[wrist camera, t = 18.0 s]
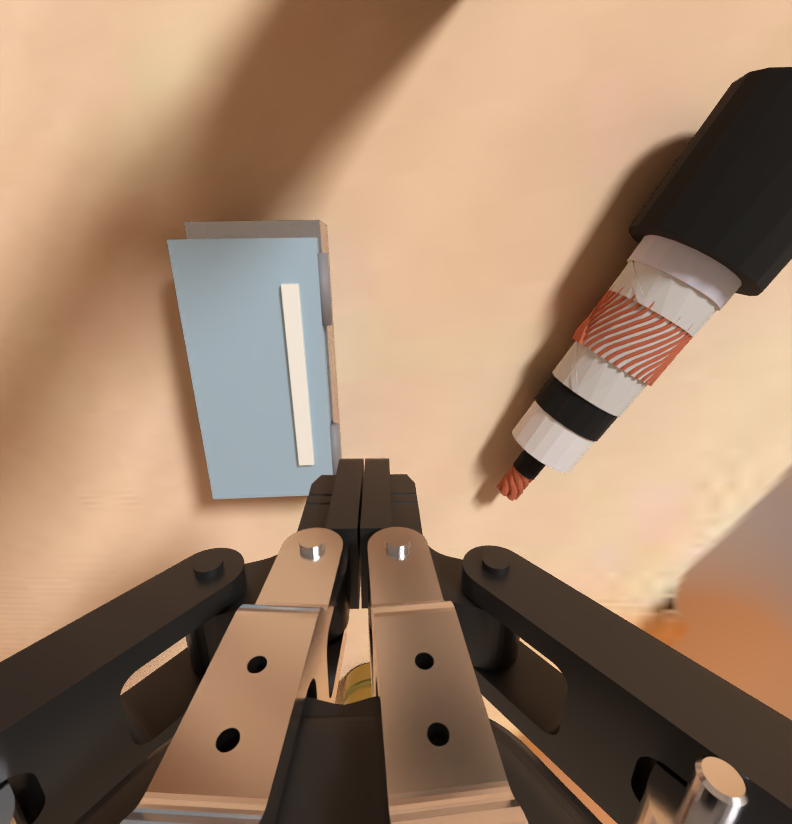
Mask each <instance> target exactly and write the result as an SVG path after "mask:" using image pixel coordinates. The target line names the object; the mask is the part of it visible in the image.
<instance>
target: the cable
mask: <svg viewBox="0 0 792 824" xmlns="http://www.w3.org/2000/svg"><path fill="white" fill-rule="evenodd" d="M629 232H630V234H631V235H632V237H633V238H634V239H635V240H636V241H637V242H638V243H639V245H638V246H637V247H636V249H635V250H634V252H633V253H632V254H631V256H630V257H629V258H628V260H627V263H628V264H627V266H626V267H625V268H624V270H623V271H622V272H621V274H620V275H619V276H618V278H617V279H616V280H615V282H614V283H613V284H612V286H611V287H610V288H609V290H608V291H607V292H606V293H605V294H604V295H603V296H602V298H601V299H600V300H599V302H598V303H597V305H596V306H595V308H594V309H593V311H592V312H591V314H590V315H589V316H588V317H587V318H586V319H585V320H584V321H583V322H582V323H581V324H580V326H579V327H578V328H577V329H576V331H575V333H574V335H573V337H572V338H573V339H574V340H576V341H575V342H574V344H573V345H572V346H571V348H570V349H569V350H568V352H567V353H566V354H565V356H564V357H563V358H562V360H561V361H560V362H559V364H558V365H557V366H556V368H555V369H554V370H553V372H552V373H553V375H552V376H551V377H550V379H549V380H548V381H547V383H546V384H545V385H544V387H543V388H542V389H541V391H540V392H539V393H538V395H537V396H536V397H535V401H534V402H533V404H532V405H531V406H530V408H529V409H528V410H527V412H526V413H525V414H524V416H523V417H522V418H521V420H520V421H519V422H518V424H517V425H516V427H515V428H514V429H513V431H512V435H513V436H514V438H515V440H516V441H517V442H518V443H519V444H520V445H521V447H522V448H523V449H524V451H523V452H522V453H521V454H520V456H519V457H518V458H517V460H516V461H515V462H514V464H513V466H512V467H511V469H510V470H509V471H508V472H507V474H506V475H505V476H504V477H503V479H502V480H501V481H500V483H499V484H498V486H497V487H498V489H499V490H501V491H500V492H501V494H502V495H504V496H507V497H508V498H509V499H510V500H512V501H513V500H514V499H516V500H517V499H518V497H519V496H520V495H521V494H522V493H523V490H524V489H525V488H526V487H527V486H528V484H529V483H530V482H531V481H532V480H534V478H535V477H536V476H537V475H538V474H539V473H540V471H541V470H542V469H543V468H544V467H545V465H547V466H548V467H550V468H552V469H554V470H556V471H559V472H563V473H567V472H569V471H570V470H571V469H572V468H573V467H574V466H575V464H576V463H577V462H578V461H579V460H580V458H581V457H582V456H583V455H584V454H585V452H586V451H587V450H588V449H589V448H590V446H591V445H592V444H593V443H594V442H595V441H598V439H599V438H600V437H601V436H602V435H603V434H604V432H605V431H606V430H607V429H608V428H609V427H610V425H611V424H612V423H613V422H614V421H615V420H616V418H617V417H620V416H621V415H622V414H623V412H624V411H625V410H626V409H627V408H628V407H629V405H630V404H631V403H632V402H633V401H634V400H635V399H636V397H637V396H638V395H639V394H640V393H641V392H642V390H643V389H644V388H645V387H646V386H647V385H650V386H651V385H652V384H653V383H654V382H655V381H656V379H657V378H658V377H659V376H660V375H661V373H662V372H663V371H664V370H665V369H666V368H667V366H668V365H669V364H670V363H671V362H672V361H673V360H674V358H675V357H676V355H677V354H678V353H679V352H680V351H681V350H682V349H683V348H684V346H685V345H686V344H687V343H688V342H689V341H690V340H691V339H692V337H694V335H695V334H696V333H697V332H698V331H699V330H700V329H701V327H702V326H703V325H704V324H705V323H706V322H707V321H708V319H709V318H710V317H711V316H712V315H713V314H714V313H715V311H716V310H721V308H722V307H723V306H724V305H725V304H726V303H727V301H728V300H729V299H730V298H731V297H732V296H733V294H734V293H739V294H743V295H747V296H757V295H759V294H760V293H762V292H763V290H764V289H765V288H766V287H767V286H768V285H769V284H770V283H771V281H772V280H773V279H774V278H775V277H776V276H777V275H778V274H779V272H780V271H781V270H782V269H783V268H784V267H785V266H786V265H787V263H788V262H789V261H790V260H791V259H792V67H775V68H766V69H761V70H756V71H752V72H749V73H747V74H746V75H744V76H743V77H741V78H740V79H738V80H737V81H735V82H733V83H732V84H731V85H730V87H729V88H728V90H727V91H726V92H725V94H724V95H723V97H722V98H721V99H720V101H719V102H718V104H717V105H716V106H715V108H714V109H713V111H712V112H711V113H710V115H709V116H708V118H707V119H706V120H705V122H704V123H703V125H702V126H701V127H700V129H699V130H698V132H697V133H696V134H695V136H694V137H693V139H692V140H691V141H690V143H689V144H688V146H687V147H686V149H685V150H684V151H683V153H682V154H681V156H680V157H679V158H678V160H677V161H676V163H675V164H674V165H673V167H672V168H671V170H670V171H669V172H668V174H667V175H666V177H665V178H664V179H663V181H662V182H661V184H660V185H659V186H658V188H657V189H656V191H655V192H654V193H653V195H652V196H651V198H650V199H649V200H648V202H647V203H646V205H645V206H644V207H643V209H642V210H641V212H640V213H639V214H638V216H637V217H636V219H635V220H634V221H633V223H632V224H631V226H630V227H629Z"/></svg>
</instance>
